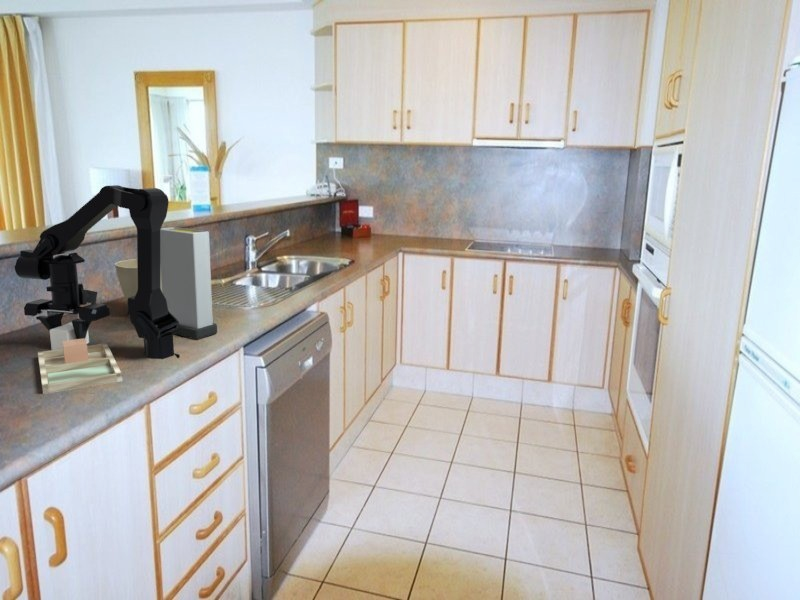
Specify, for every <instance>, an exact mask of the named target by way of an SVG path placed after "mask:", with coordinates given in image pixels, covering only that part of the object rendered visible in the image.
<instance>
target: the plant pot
mask: <svg viewBox="0 0 800 600" xmlns="http://www.w3.org/2000/svg"><path fill="white" fill-rule="evenodd" d="M114 267H115V270H116V271H115V272H116V275H117V279H118V282H119V285H120V288H121V292H122V294H123V297H124V298H125V302H126V304H127V305H128V303H127V301H128V298H130V297H132V296H135V295H136V293H137V290H138V278H137V258H132V259H124V260H120V261H117V262H115V263H114ZM160 288H161V291H162V280H161V264H160Z"/></svg>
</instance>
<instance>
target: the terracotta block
mask: <svg viewBox="0 0 800 600" xmlns="http://www.w3.org/2000/svg"><path fill="white" fill-rule="evenodd" d="M62 346H63V356H64V362H65V364H66V363H73V362H80V361H87V360H88V350H87V346H88V343H86V340H85V338H83V339H74V340H66V341H62Z"/></svg>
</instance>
